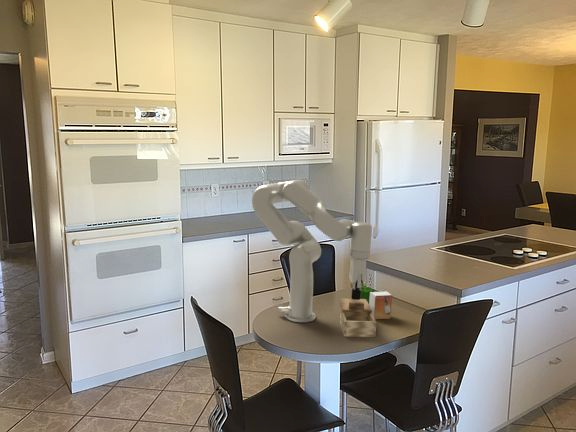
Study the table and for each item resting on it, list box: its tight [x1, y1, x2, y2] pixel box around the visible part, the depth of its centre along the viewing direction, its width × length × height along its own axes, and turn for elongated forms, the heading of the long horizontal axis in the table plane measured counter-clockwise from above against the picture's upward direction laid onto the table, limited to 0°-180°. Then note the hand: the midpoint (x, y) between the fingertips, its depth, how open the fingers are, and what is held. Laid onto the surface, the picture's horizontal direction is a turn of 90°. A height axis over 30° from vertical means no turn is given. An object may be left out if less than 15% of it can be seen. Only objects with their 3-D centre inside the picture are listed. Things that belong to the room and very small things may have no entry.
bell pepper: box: [360, 283, 376, 304], centre depth 220 cm, size 8×8×10 cm
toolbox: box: [339, 310, 377, 338], centre depth 190 cm, size 12×14×6 cm
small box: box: [369, 291, 393, 320], centre depth 205 cm, size 8×6×10 cm
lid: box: [337, 298, 372, 312], centre depth 200 cm, size 12×14×3 cm
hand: (355, 298), depth 191 cm, fingers closed
